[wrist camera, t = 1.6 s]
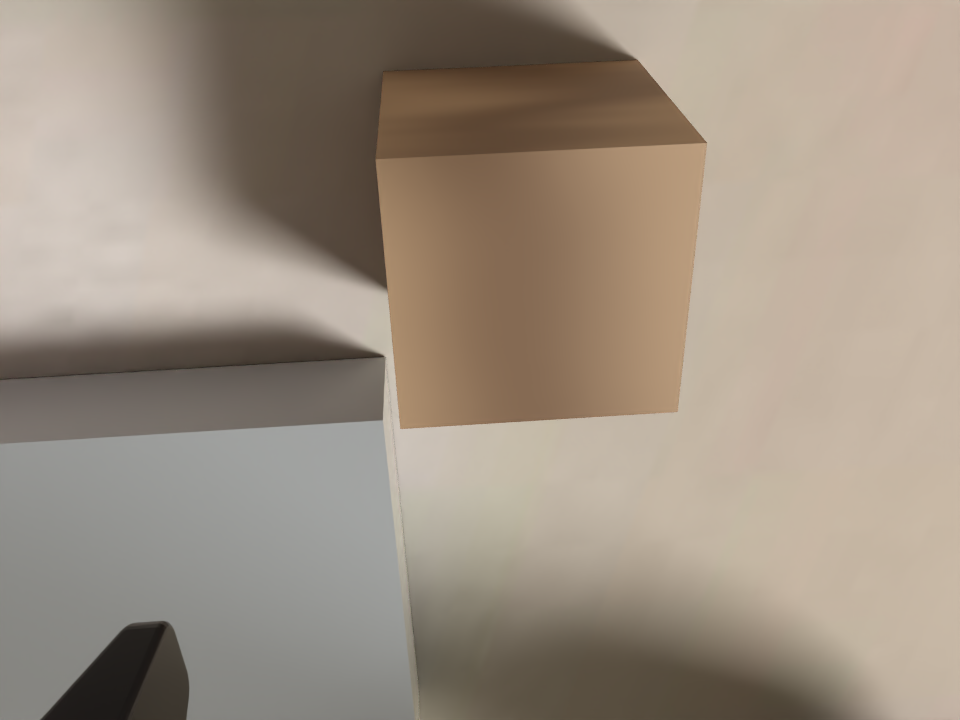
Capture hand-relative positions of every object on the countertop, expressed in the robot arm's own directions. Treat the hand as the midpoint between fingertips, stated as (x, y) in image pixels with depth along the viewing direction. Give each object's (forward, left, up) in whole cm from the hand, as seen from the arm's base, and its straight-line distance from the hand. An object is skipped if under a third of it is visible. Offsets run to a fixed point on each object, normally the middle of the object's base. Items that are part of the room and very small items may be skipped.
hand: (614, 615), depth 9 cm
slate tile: (+9, +10, -12) cm, 18 cm away
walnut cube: (0, 0, -12) cm, 12 cm away
